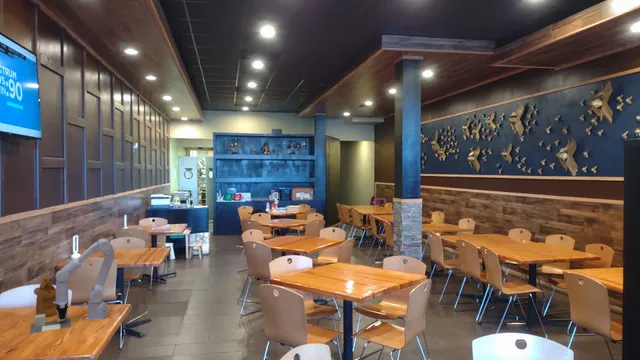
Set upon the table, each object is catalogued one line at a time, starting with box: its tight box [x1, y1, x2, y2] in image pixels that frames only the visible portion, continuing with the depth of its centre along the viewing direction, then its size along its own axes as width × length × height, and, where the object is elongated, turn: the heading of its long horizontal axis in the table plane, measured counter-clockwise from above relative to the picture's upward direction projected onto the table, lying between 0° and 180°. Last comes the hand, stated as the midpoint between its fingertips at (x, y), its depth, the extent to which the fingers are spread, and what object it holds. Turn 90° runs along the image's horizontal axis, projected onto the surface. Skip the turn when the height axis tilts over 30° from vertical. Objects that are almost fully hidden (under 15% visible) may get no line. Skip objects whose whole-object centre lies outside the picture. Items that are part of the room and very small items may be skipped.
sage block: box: [34, 314, 46, 327], centre depth 221 cm, size 5×5×5 cm
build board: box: [29, 318, 72, 335], centre depth 220 cm, size 18×15×1 cm
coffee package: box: [35, 275, 57, 318], centre depth 238 cm, size 10×12×22 cm
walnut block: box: [56, 310, 68, 322], centre depth 226 cm, size 5×5×5 cm
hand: (62, 317), depth 226 cm, fingers closed on walnut block, 5 cm apart
